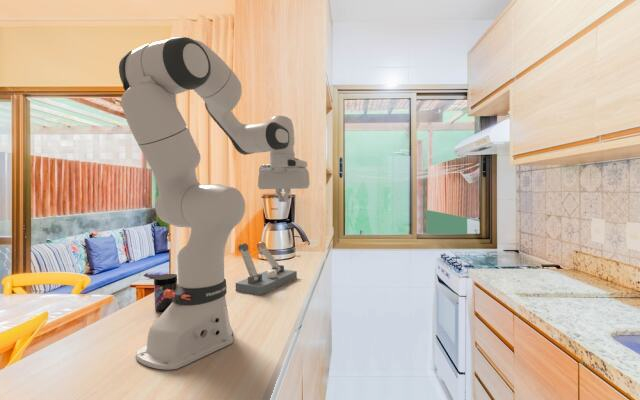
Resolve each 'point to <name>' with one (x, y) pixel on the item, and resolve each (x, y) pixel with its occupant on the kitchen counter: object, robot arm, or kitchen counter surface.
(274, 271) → the ivory button
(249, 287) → the console
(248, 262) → the grey lever
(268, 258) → the control lever
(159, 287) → the supplement container
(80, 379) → the kitchen counter surface
